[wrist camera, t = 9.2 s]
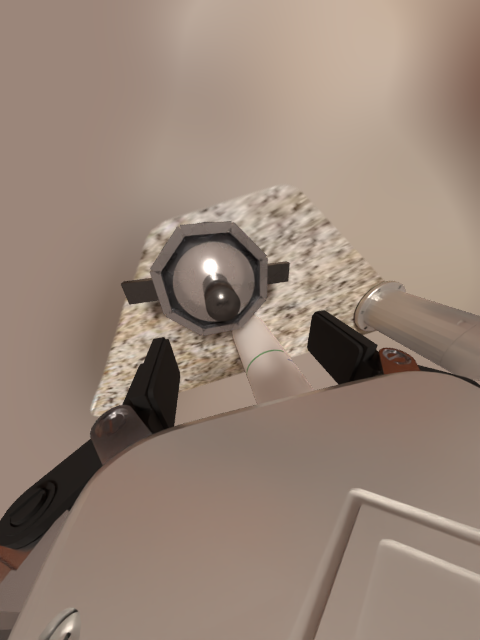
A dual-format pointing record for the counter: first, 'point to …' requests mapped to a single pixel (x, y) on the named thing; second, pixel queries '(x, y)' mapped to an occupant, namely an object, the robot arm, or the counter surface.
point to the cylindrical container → (267, 363)
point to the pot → (171, 254)
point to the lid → (213, 281)
